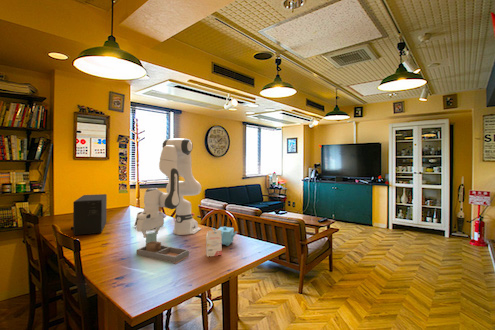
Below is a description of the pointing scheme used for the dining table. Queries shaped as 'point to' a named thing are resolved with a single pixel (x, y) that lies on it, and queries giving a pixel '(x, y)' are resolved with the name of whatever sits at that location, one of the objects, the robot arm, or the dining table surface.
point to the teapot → (226, 235)
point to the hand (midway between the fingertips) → (150, 235)
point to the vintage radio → (89, 214)
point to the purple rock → (141, 212)
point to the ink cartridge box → (213, 243)
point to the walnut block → (153, 246)
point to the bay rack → (165, 254)
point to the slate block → (151, 237)
